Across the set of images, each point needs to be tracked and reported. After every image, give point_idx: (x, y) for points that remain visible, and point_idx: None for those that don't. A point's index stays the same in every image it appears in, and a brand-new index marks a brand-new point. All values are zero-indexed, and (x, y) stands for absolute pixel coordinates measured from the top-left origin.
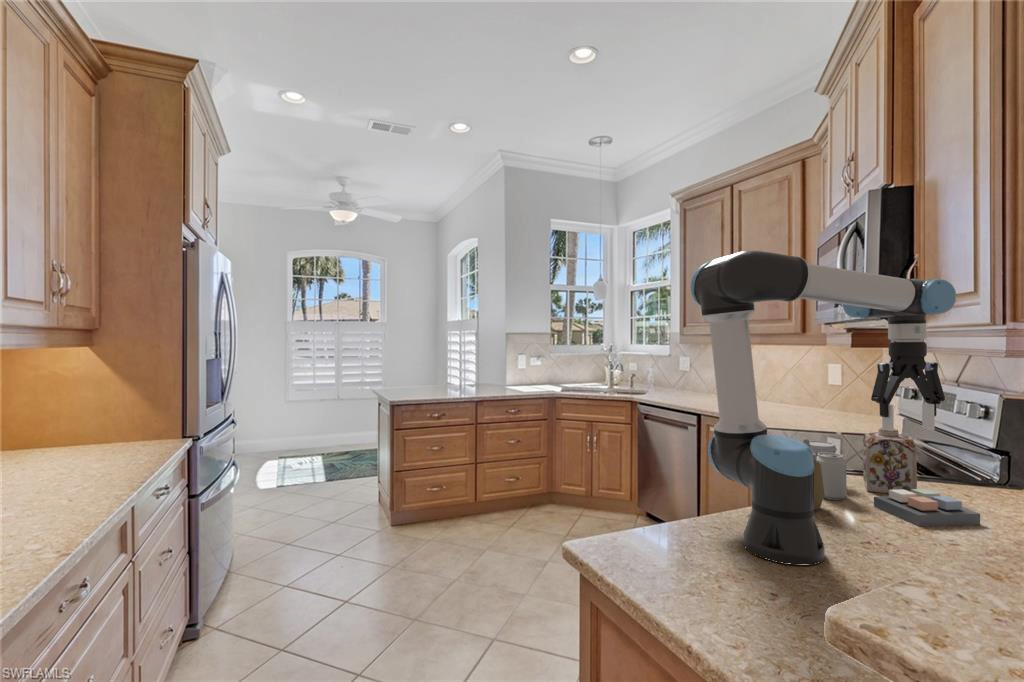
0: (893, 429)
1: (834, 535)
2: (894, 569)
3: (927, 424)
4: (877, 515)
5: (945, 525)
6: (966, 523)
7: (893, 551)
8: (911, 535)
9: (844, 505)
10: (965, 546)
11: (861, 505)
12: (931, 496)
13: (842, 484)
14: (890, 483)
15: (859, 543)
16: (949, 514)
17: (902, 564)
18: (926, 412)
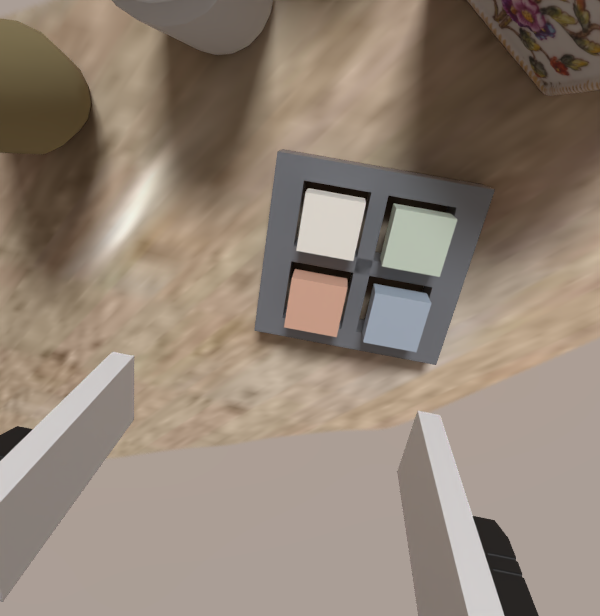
0: (127, 426)
1: (9, 308)
2: None
3: (412, 473)
4: (222, 223)
5: None
6: None
7: None
8: (188, 353)
9: (192, 112)
10: (248, 421)
11: (250, 127)
12: (375, 293)
13: (209, 46)
14: (507, 16)
15: (38, 355)
16: (345, 346)
17: None
18: (429, 555)
